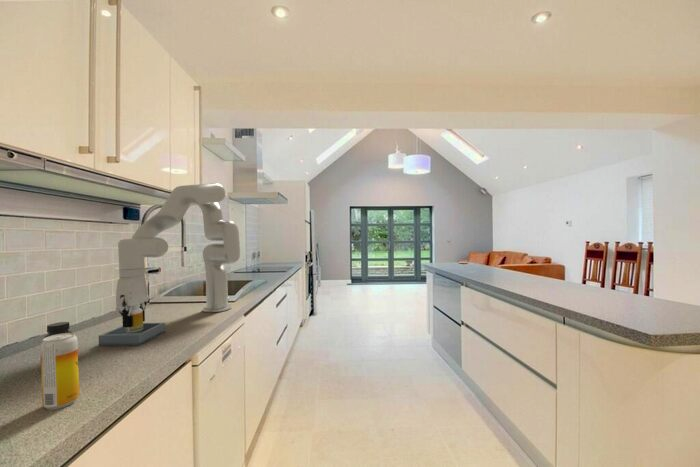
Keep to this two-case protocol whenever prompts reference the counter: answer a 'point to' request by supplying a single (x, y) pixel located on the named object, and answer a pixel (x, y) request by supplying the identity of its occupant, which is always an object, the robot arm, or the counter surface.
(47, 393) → the pill bottle
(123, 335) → the tray
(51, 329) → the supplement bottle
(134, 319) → the supplement bottle
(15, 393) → the counter surface
